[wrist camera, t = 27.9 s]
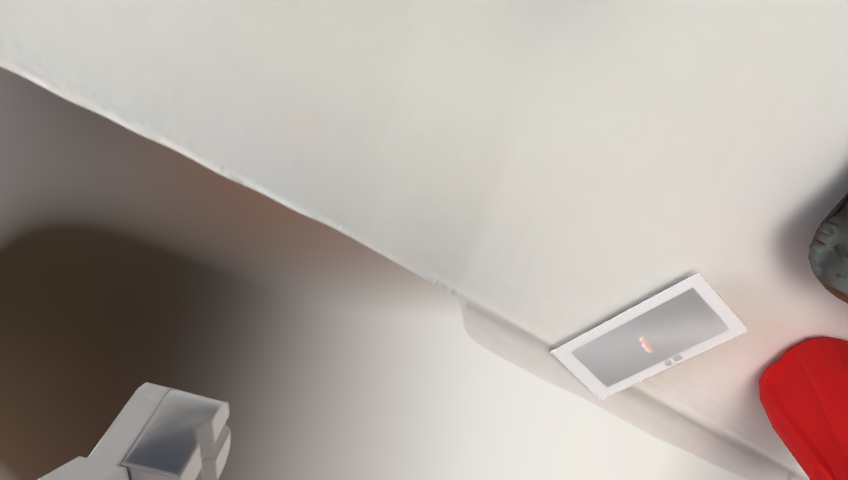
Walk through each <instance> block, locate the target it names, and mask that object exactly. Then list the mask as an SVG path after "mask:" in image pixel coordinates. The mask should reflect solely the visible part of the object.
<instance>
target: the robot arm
mask: <svg viewBox="0 0 848 480" xmlns="http://www.w3.org/2000/svg"><path fill="white" fill-rule="evenodd" d="M229 415H230V412H229V403H228V402H224V401H221V400H217V399H213V398H208V397H204V396H200V395H196V394H193V393H188V392H184V391H180V390H176V389H173V388H169V387H165V386H160V385H155V384H152V383H147V382H146V383H144V384H143V385H142V386H141V387H139V388H138V389H137V390H136V391H135V393H134V394H133V395H132V397H131V398H130V400H129V401H128V403H127V404H126V405H125V407H124V408H123V409H122V411H121V412H120V413H119V415H118V416H117V418H116V419H115V420H114V422H113V423H112V425H111V426H110V427H109V429H108V430H107V432H106V433H105V434H104V436H103V437H102V438H101V440H100V441H99V443H98V444H97V445H96V447H95V448H94V450H93V451H92V452H91V454H90V455H89V456H88V458H86V457H81V456H79V457H77V458H75V459H73V460H72V461H70V462H68V463H66V464H65V465H63V466H61V467H59V468H57V469H55V470H54V471H52V472H50V473H48V474H46V475H45V476H43V477H41V478H39V479H38V480H218V478H219V476H220V474H221V472H222V469H223V468H224V465H225V462H226V459H227V456H228V453H229V448H230V442H231V430H230V429H229V428H228V427H227V425H226V424H225V422H226V421H227V419H228V417H229Z"/></svg>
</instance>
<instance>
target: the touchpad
mask: <svg viewBox="0 0 848 480" xmlns="http://www.w3.org/2000/svg"><path fill="white" fill-rule="evenodd" d="M748 331H749V330H748V329H747V327H746V326H745V325H744V324H743V323H742V322H741V321H740V319H739V318H738V317H737V316H736V315H735V314H734V312H733V311H732V310H731V309H730V308H729V307H728V306H727V304H726V303H725V302H724V301H723V300H722V299H721V298H720V296H719V295H718V294H717V293H716V292H715V291H714V290H713V288H712V287H711V286H710V285H709V284H708V283H707V282H706V280H705V279H704V278H703V277H702V276H701V275H700V274H699V272H698V273H696V274H694V275H692V276H690V277H688V278H686V279H685V280H683V281H681V282H679V283H677V284H675V285H673V286H672V287H670V288H668V289H666V290H664V291H662V292H660V293H659V294H657V295H655V296H653V297H651V298H649V299H647V300H645V301H644V302H642V303H640V304H638V305H636V306H634V307H632V308H631V309H629V310H627V311H625V312H623V313H621V314H619V315H618V316H616V317H614V318H612V319H610V320H608V321H606V322H604V323H603V324H601V325H599V326H597V327H595V328H593V329H591V330H590V331H588V332H586V333H584V334H582V335H580V336H578V337H577V338H575V339H573V340H571V341H569V342H567V343H565V344H563V345H562V346H560V347H558V348H556V349H554V350H552V351H550V352H551V353H552V354H553V355H554V356H555V357H556V358H557V359H558V360H559V361H560V362H561V363H562V364H563V365H564V366H565V367H567V368H568V369H569V370H570V371H571V372H572V373H573V374H574V375H575V376H576V377H577V378H578V379H579V380H580V381H581V382H582V383H583V384H585V385H586V386H587V387H588V388H589V389H590V390H591V391H592V392H593V393H594V394H595V395H596V396H597V397H598V398H599V399H600V400H602V399H604V398H606V397H608V396H610V395H613V394H615V393H617V392H619V391H621V390H623V389H625V388H628V387H630V386H632V385H634V384H636V383H638V382H640V381H643V380H645V379H647V378H649V377H651V376H653V375H655V374H658V373H660V372H662V371H664V370H666V369H668V368H671V367H673V366H675V365H677V364H679V363H681V362H683V361H686V360H688V359H690V358H692V357H694V356H696V355H698V354H701V353H703V352H705V351H707V350H709V349H711V348H713V347H716V346H718V345H720V344H722V343H724V342H726V341H728V340H731V339H733V338H735V337H737V336H739V335H741V334H744V333H746V332H748Z"/></svg>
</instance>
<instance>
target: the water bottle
mask: <svg viewBox="0 0 848 480" xmlns="http://www.w3.org/2000/svg"><path fill="white" fill-rule="evenodd" d="M759 388H760V400H761V402H762V405H763V407H764V409H765V411H766V413H767V416H768V418H769V420H770V422H771V424H772V427H773V429H774V430H775V431H776V433H777V434H778V435H779V437H780V438H781V440H782V441H783V442H784V444H785V445H786V446H787V448H788V449H789V451H790V452H791V453H792V455H793V456H794V457H795V459H796V460H797V462H798V463H799V464H800V466H801V467H802V468H803V470H804V471H805V473H806V474H807V475H808V477H809V478H810V480H848V341H844V340H839V339H834V338H828V337H827V338H818V339H810V340H807V341H805V342H803V343H801V344H799V345H797V346H795V347H793V348H791V349H790V350H789V351H788V352H787V353H786V354H785V355H784V356H783V357H782V359H781V360H780V361H779V362H777V363H776V364H774V365H772V366H770V367H768V368H767V370H766V371H765V373H764V375H763V376H762V378H761V379H760V381H759Z"/></svg>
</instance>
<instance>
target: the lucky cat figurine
mask: <svg viewBox="0 0 848 480" xmlns="http://www.w3.org/2000/svg"><path fill="white" fill-rule="evenodd" d="M809 260H810V264H811V267H812V270H813V272H814V274H815V276H816V277H817V279H818V280H819V281H820V282H821V283H822V285H823V286H824V287H825V288H826V289H827V290H828V291H829V292H831V293H832V294H833V295H835V296H836V297H837V298H839V299H841V300H843V301H844V302H846V303H848V193H847V194H846V195H845V197H844V198H843V199H842V200H841V201H840V202H839V203H838V205H837V206H836V207H835V208H834V209H833V210H832V211H831V212H830V214H829V215H828V216H827V217H826V218H825V219H824V221H823V222H822V223H821V226H820V227H819V228H818V230H817V232H816V234H815V236H814V238H813V241H812V243H811V244H810V247H809Z"/></svg>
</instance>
